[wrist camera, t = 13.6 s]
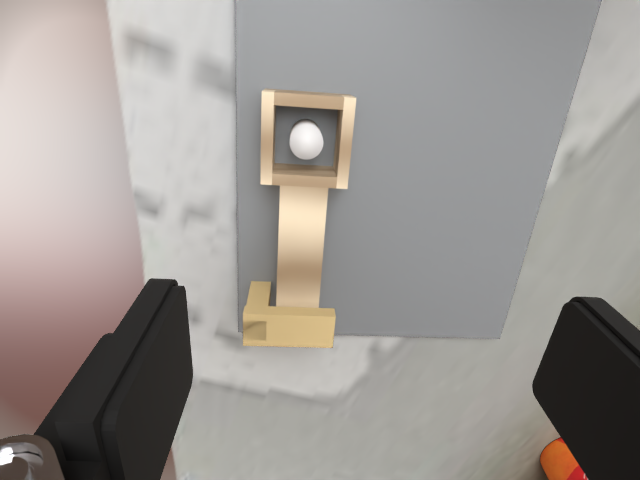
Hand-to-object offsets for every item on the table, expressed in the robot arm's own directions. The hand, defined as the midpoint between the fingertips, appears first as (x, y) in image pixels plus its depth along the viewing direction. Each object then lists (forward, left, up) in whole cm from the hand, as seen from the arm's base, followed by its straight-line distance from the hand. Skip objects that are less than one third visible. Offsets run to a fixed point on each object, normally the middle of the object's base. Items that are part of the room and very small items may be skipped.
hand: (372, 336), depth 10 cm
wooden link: (+1, +4, -19) cm, 20 cm away
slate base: (-5, +1, -20) cm, 21 cm away
